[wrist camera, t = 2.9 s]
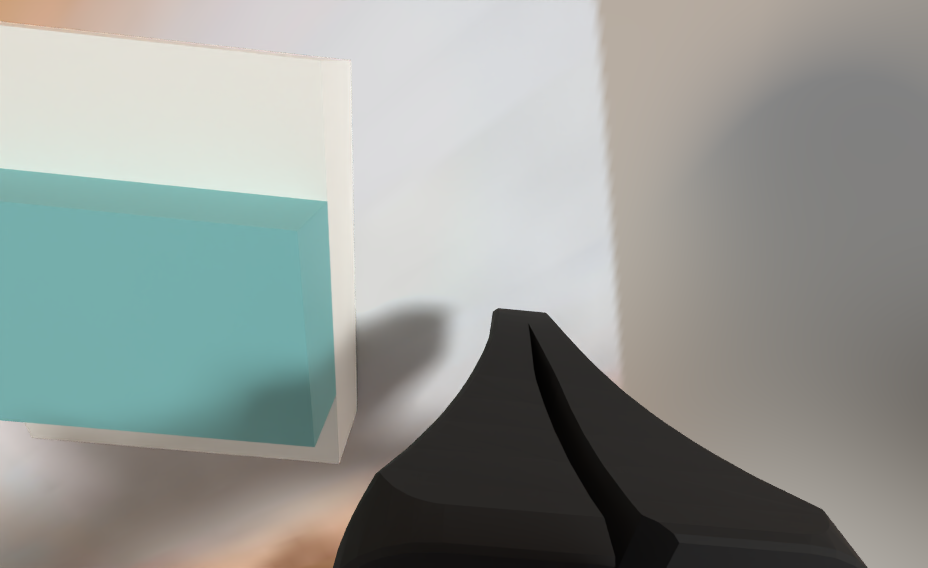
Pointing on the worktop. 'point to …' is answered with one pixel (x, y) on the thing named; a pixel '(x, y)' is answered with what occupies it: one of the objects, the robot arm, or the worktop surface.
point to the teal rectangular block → (164, 309)
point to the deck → (192, 158)
